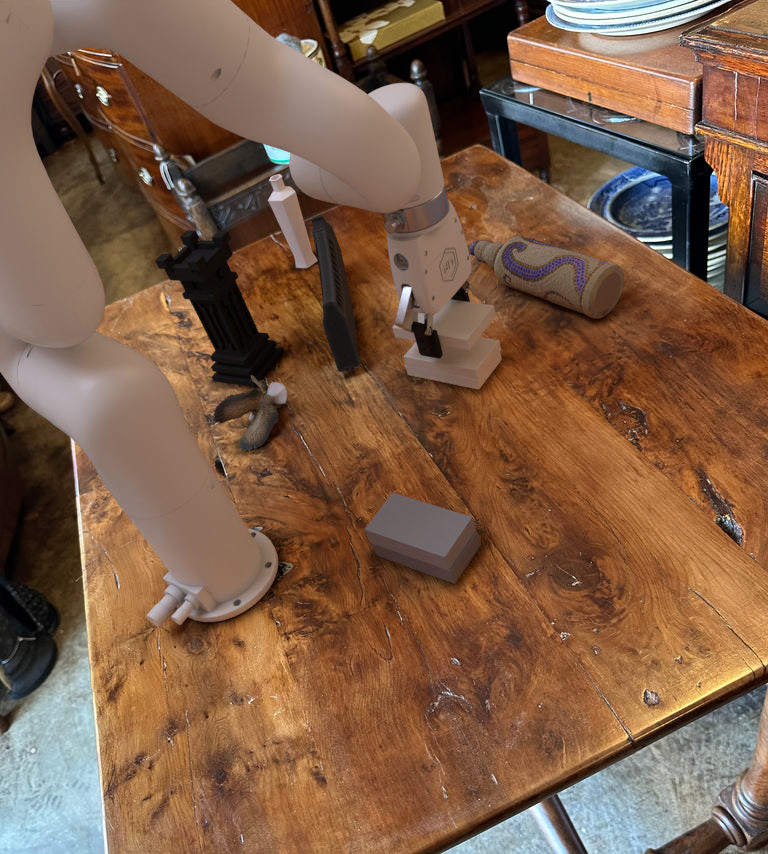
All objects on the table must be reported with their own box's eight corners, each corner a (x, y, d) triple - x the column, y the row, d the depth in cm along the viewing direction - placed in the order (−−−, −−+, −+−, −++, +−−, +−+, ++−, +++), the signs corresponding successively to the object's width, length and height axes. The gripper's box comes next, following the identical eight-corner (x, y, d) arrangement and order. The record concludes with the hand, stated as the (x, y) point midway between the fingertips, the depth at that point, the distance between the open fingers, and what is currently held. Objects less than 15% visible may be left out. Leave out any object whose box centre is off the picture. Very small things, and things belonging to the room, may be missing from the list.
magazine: (346, 329, 100) (313, 171, 114) (322, 336, 100) (291, 178, 114) (375, 403, 115) (343, 255, 129) (354, 409, 116) (324, 261, 129)
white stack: (480, 390, 100) (476, 370, 97) (407, 375, 106) (401, 356, 103) (503, 359, 102) (499, 339, 100) (431, 346, 108) (426, 327, 106)
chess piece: (213, 381, 117) (150, 262, 103) (243, 347, 121) (186, 228, 107) (255, 387, 113) (196, 264, 99) (284, 352, 117) (231, 229, 103)
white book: (469, 350, 95) (466, 340, 94) (395, 337, 101) (391, 327, 100) (496, 316, 98) (494, 305, 97) (422, 305, 104) (420, 295, 103)
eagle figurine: (246, 395, 110) (206, 429, 104) (256, 358, 105) (215, 392, 99) (290, 425, 110) (253, 461, 104) (303, 390, 104) (264, 426, 98)
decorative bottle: (630, 299, 104) (628, 254, 99) (591, 330, 102) (587, 286, 97) (494, 250, 121) (486, 210, 116) (458, 276, 119) (449, 236, 114)
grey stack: (455, 584, 80) (446, 557, 77) (375, 555, 86) (363, 529, 83) (481, 544, 83) (474, 517, 80) (402, 518, 88) (392, 492, 85)
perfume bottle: (289, 263, 135) (257, 179, 124) (312, 252, 136) (282, 168, 125) (298, 273, 132) (266, 188, 121) (321, 262, 132) (291, 176, 122)
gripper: (401, 254, 82) (437, 385, 95) (481, 168, 90) (504, 300, 103) (345, 248, 86) (387, 374, 99) (426, 167, 94) (455, 293, 107)
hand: (446, 335), depth 101 cm, fingers closed on white book, 7 cm apart
